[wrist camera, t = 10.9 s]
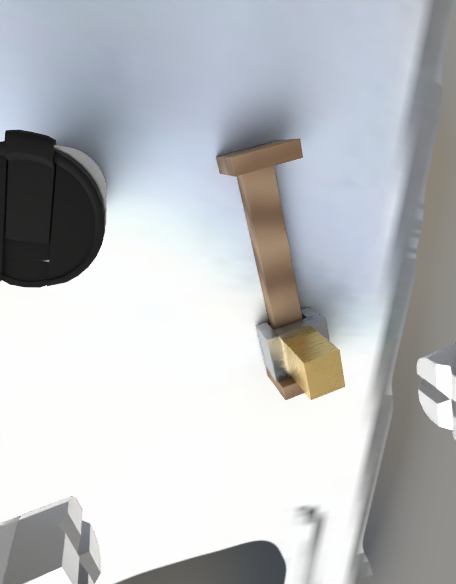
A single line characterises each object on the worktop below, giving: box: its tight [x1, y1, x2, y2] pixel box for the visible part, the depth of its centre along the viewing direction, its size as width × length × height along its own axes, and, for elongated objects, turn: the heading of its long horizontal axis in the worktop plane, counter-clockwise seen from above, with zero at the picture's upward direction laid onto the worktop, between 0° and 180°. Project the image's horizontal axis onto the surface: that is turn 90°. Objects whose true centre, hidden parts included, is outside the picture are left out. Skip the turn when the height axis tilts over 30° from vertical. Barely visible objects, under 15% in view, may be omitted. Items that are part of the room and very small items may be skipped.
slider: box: [256, 307, 345, 400], centre depth 41 cm, size 5×6×9 cm
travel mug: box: [0, 130, 106, 287], centre depth 25 cm, size 6×7×20 cm
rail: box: [216, 139, 305, 400], centre depth 40 cm, size 24×6×5 cm, turn 14°
